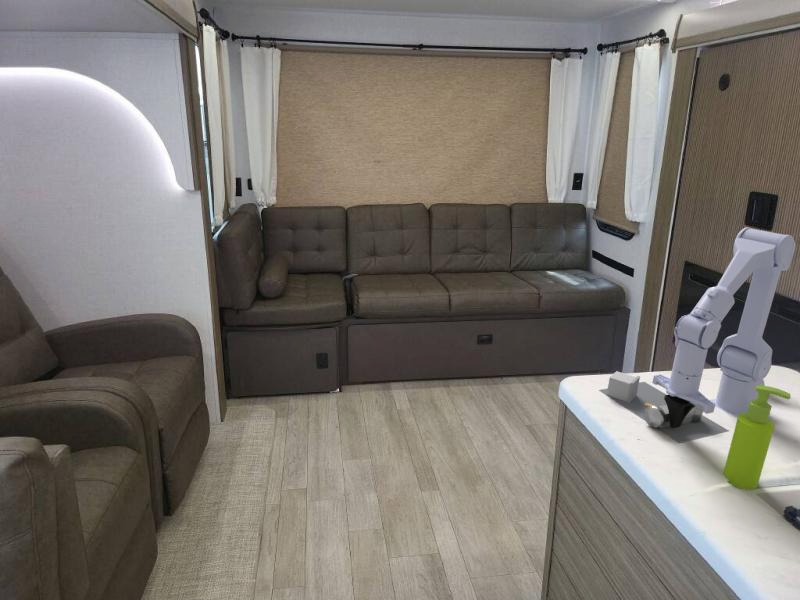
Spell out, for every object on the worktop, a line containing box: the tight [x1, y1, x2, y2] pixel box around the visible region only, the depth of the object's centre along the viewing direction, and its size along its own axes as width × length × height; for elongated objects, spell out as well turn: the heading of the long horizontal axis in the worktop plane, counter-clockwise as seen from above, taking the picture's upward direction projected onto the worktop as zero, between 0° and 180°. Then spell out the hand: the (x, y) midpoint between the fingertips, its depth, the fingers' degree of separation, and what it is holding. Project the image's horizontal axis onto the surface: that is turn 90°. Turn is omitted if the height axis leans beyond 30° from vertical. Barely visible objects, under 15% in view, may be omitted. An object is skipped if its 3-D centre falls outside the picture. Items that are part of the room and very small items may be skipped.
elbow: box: [644, 405, 704, 429], centre depth 128 cm, size 14×5×5 cm, turn 112°
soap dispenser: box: [723, 385, 791, 491], centre depth 106 cm, size 6×7×20 cm
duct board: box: [598, 370, 730, 444], centre depth 133 cm, size 15×25×6 cm, turn 23°
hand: (674, 426), depth 125 cm, fingers closed
